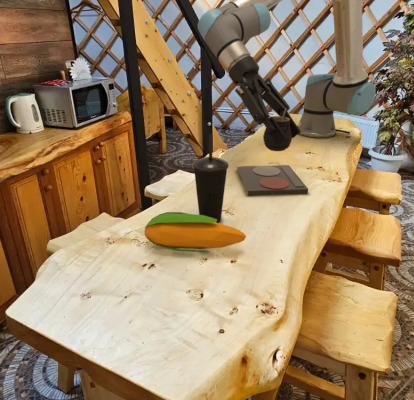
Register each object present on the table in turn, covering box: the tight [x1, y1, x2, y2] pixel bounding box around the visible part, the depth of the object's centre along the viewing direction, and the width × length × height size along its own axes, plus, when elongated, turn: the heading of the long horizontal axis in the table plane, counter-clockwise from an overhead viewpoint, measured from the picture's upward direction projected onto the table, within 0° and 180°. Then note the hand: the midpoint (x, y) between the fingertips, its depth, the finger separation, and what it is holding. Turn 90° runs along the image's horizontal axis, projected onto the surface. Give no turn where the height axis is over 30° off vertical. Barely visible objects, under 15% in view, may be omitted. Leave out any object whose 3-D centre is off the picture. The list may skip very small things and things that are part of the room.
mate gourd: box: [262, 108, 293, 152], centre depth 94 cm, size 7×8×10 cm
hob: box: [236, 164, 309, 197], centre depth 104 cm, size 16×18×2 cm
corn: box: [144, 211, 247, 253], centre depth 72 cm, size 7×8×20 cm
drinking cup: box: [192, 133, 229, 224], centre depth 80 cm, size 8×8×20 cm
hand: (289, 138), depth 93 cm, fingers closed on mate gourd, 7 cm apart
